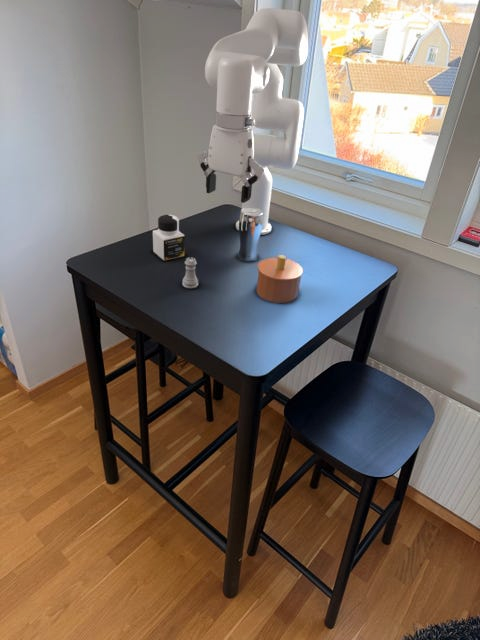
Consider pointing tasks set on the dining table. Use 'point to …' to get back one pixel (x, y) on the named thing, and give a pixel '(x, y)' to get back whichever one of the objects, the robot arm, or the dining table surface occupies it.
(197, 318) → the dining table surface
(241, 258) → the metal shaker cup
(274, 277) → the pot lid
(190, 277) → the rook chess piece
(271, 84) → the robot arm
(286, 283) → the pot
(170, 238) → the medicine bottle
